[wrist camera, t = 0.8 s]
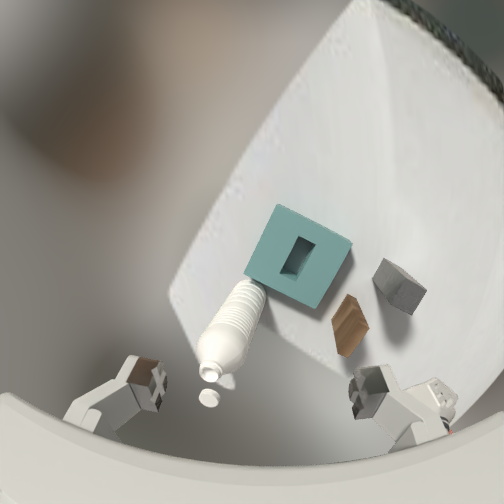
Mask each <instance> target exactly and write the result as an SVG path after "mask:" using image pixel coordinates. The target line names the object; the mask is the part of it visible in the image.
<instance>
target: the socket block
mask: <svg viewBox="0 0 504 504" xmlns="http://www.w3.org/2000/svg"><path fill="white" fill-rule="evenodd" d="M298 236H300V237H302V238H304V239H306V240H308V241H310V242H312V243H313V245H312V247H311V249H310V251H309V252H308V254H307V256H306V258H305V260H304V262H303V264H302V266H301V267H300V269H299V271H298V273H297V275H296V274H294V273H292V272H290V271H288V270H286V269H284V268H282V267H283V265H284V263H285V261H286V259H287V257H288V256H289V254H290V252H291V250H292V248H293V246H294V244H295V242H296V240H297V238H298ZM351 246H352V243H351V242H350V241H349V240H348V239H346V238H344V237H343V236H341V235H339V234H337V233H335V232H333V231H331V230H329V229H328V228H326V227H324V226H322V225H320V224H318V223H316V222H314V221H312V220H310V219H308V218H306V217H304V216H302V215H300V214H298V213H296V212H294V211H292V210H290V209H288V208H286V207H284V206H282V205H280V204H277V205H276V207H275V209H274V211H273V213H272V215H271V217H270V219H269V221H268V223H267V225H266V228H265V230H264V232H263V234H262V236H261V238H260V240H259V242H258V244H257V246H256V248H255V251H254V253H253V255H252V257H251V259H250V261H249V263H248V265H247V267H246V269H245V271H244V273H243V274H245V275H247V276H249V277H251V278H253V279H255V280H257V281H259V282H261V283H263V284H265V285H267V286H269V287H271V288H273V289H275V290H277V291H279V292H281V293H283V294H285V295H287V296H289V297H291V298H293V299H295V300H297V301H299V302H301V303H303V304H305V305H307V306H309V307H311V308H313V309H316V307H317V306H318V304H319V302H320V301H321V299H322V297H323V296H324V294H325V292H326V291H327V289H328V287H329V286H330V284H331V282H332V280H333V279H334V277H335V275H336V273H337V272H338V270H339V268H340V266H341V265H342V263H343V261H344V259H345V257H346V255H347V254H348V252H349V250H350V248H351Z"/></svg>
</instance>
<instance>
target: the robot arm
mask: <svg viewBox="0 0 504 504" xmlns="http://www.w3.org/2000/svg"><path fill="white" fill-rule="evenodd" d="M163 369H164V364H163V362H162V361H159V360H153V359H148V358H143V357H137V356H133V355H130V356H128V357H127V359H126V361H125V363H124V364H123V366H122V368H121V370H120V372H119V374H118V375H117V377H116V379H115V380H113V379H112V380H110V381H108V382H106V383H105V384H103V385H101V386H99V387H98V388H96V389H94V390H92V391H90V392H89V393H87V394H85V395H83V396H81V397H80V398H78V399H76V400H74V401H73V403H72V405H71V406H70V408H69V409H68V411H67V413H66V415H65V416H64V418H63V420H60V419H58V418H56V417H54V416H52V415H50V414H48V413H46V412H44V411H42V410H40V409H38V408H37V407H35V406H33V405H31V404H30V403H28V402H26V401H24V400H23V399H21V398H19V397H18V396H16V395H14V394H12V393H9V392H7V393H3V394H1V395H0V504H504V411H500V412H498V413H496V414H495V415H492V416H491V417H488V418H487V419H484V420H482V421H480V422H478V423H476V424H474V425H472V426H470V427H467V428H465V429H463V430H460V431H458V432H455V433H453V432H452V433H453V434H452V433H451V434H450V432H451V431H452V430H450V431H449V423H450V422H451V421H452V419H453V418H454V416H455V413H456V411H455V409H454V405H455V404H456V402H457V400H458V396H457V395H456V394H455V393H454V392H453V391H452V390H450V389H449V388H448V387H447V386H446V385H444V384H443V383H442V382H441V381H440V380H438V379H437V378H433V379H431V380H429V381H427V382H426V383H423V384H420V385H416V386H413V387H411V388H409V389H407V390H405V391H404V390H400V387H399V385H398V383H397V381H396V378H395V376H394V374H393V372H392V370H391V367H390V366H389V365H388V364H387V365H378V366H368V367H358V368H356V369H355V371H354V373H353V374H354V378H353V379H352V380H351V381H350V384H349V391H348V392H349V398H350V401H352V402H353V403H354V405H353V407H352V411H353V415H354V419H355V420H357V419H365V418H373V420H374V421H375V422H376V423H377V424H378V425H379V426H380V427H382V428H383V430H384V431H385V432H386V433H387V434H388V435H389V436H390V437H391V438H392V439H393V440H394V441H395V442H396V444H395V445H394V446H393V447H392V448H391V449H390V451H389V452H388V454H384V455H380V456H375V457H370V458H364V459H359V460H352V461H346V462H338V463H329V464H319V465H306V466H281V467H280V466H279V467H278V466H275V467H274V466H244V465H230V464H220V463H210V462H203V461H196V460H190V459H184V458H179V457H174V456H169V455H164V454H159V453H155V452H151V451H147V450H143V449H139V448H136V447H132V446H128V445H126V444H122V443H121V441H120V439H119V438H118V436H117V435H116V434H115V432H114V431H115V430H117V429H118V428H119V427H120V426H122V425H123V424H124V423H125V422H126V421H128V420H129V419H130V418H131V417H133V416H134V415H135V414H136V413H137V412H139V411H140V410H141V409H144V410H150V411H154V412H159V409H160V406H161V403H162V398H161V396H162V395H163V394H165V392H166V389H167V383H168V381H167V375H166V373H165V372H164V371H163Z"/></svg>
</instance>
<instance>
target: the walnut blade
mask: <svg viewBox="0 0 504 504" xmlns="http://www.w3.org/2000/svg"><path fill="white" fill-rule="evenodd" d="M331 320H332V325H333V330H334V336H335V341H336V347H337V352H338V354H340V355H342V356H345V357H347V358H348V357H349V356H350V355H351V353H352V352H353V351H354V349H355V348H356V347H357V345H358V344H359V342H360V341H361V340H362V338H363V337H364V336H365V334H366V333H367V331H368V330H369V326H368V324H367V322H366V319H365V317H364V315H363V313H362V310H361V308H360V306H359V304H358V302H357V299H356V298H354V297H352V296H350V295H348V294H347V296H346V297H345V299H344V301H343V302H342V304H341V305H340V307H339V309H338V310H337V312H336V313H335V315H334V316H333V318H332V319H331Z"/></svg>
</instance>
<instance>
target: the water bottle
mask: <svg viewBox="0 0 504 504" xmlns="http://www.w3.org/2000/svg"><path fill="white" fill-rule="evenodd" d="M265 302H266V292H265V290H264V288H263V286H262V285H261V284H259V283H258V282H256V281H253V280H243V281H241V282H239V283H238V284H237V285H236V286H235V287H234V289H233V290H232V292H231V293H230V295H229V296H228V298H227V299H226V300H225V302H224V303H223V305H222V306H221V308H220V309H219V310H218V312H217V314H216V315H215V317H214V318H213V320H212V321H211V322H210V324H209V325H208V327H207V328H206V330H205V331H204V332H203V333H202V335H201V336H200V338H199V340H198V343H197V349H196V350H197V356H198V359H199V362H200V364H201V365H200V376H201V377H202V378H203V379H204V380H205V381H208V382H215V381H217V380H218V379H219V378H220V377H221V376H222V375H224V374H229V373H232V372H234V371H236V370H237V369H239V368H240V367H241V365H242V364H243V363H244V361H245V359H246V356H247V352H248V350H249V347H250V344H251V341H252V338H253V335H254V332H255V330H256V327H257V325H258V322H259V319H260V316H261V313H262V310H263V307H264V305H265ZM209 390H210V391H209ZM212 391H213V392H212ZM214 392H215V393H214ZM199 400H200V402H201V403H202V404H203V405H205V406H208V407H215V406H217V405H218V403H219V400H220V396H219V394H218V393H217V392H216V391H214V390H211V389H204V390H203V391H202V392H201V393H200V395H199Z"/></svg>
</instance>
